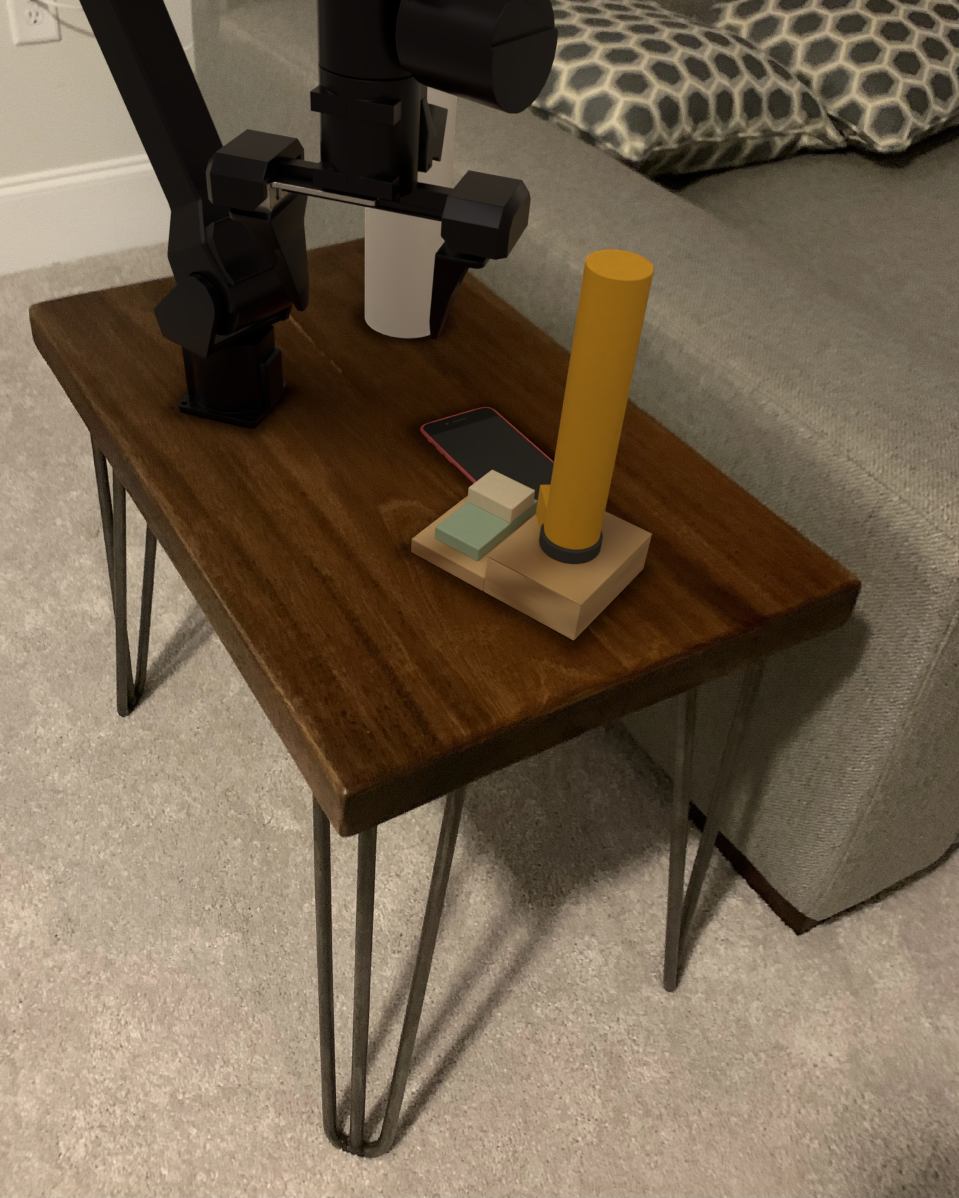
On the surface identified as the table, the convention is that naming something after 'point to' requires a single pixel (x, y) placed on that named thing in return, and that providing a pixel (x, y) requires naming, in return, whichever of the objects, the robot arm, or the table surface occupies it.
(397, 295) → the cylindrical container
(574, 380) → the tall yellow cylinder post
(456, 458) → the smartphone
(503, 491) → the two-tone stepped block
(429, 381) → the table surface
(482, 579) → the flat tan slab box
